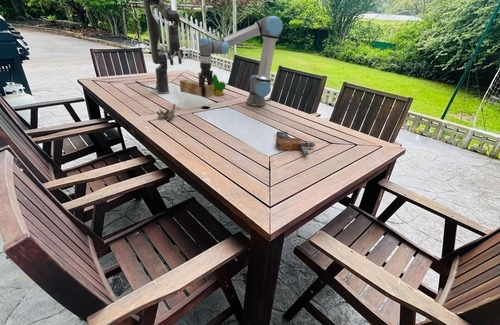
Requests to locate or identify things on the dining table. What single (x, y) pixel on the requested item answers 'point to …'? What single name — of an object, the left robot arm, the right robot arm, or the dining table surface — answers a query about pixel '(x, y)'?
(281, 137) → the tool
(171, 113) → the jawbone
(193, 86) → the bar
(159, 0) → the left robot arm
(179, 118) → the dining table surface
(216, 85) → the ornament
